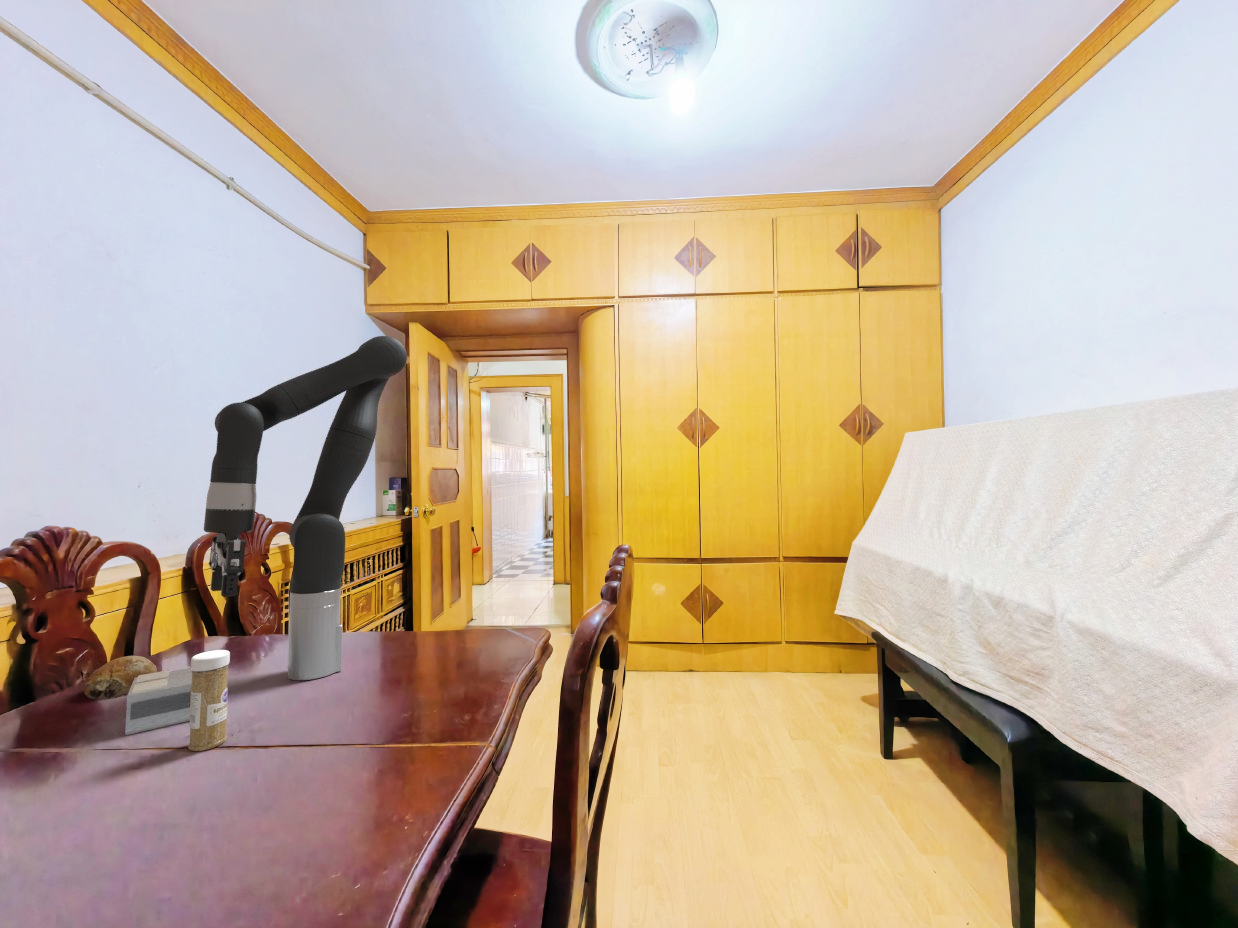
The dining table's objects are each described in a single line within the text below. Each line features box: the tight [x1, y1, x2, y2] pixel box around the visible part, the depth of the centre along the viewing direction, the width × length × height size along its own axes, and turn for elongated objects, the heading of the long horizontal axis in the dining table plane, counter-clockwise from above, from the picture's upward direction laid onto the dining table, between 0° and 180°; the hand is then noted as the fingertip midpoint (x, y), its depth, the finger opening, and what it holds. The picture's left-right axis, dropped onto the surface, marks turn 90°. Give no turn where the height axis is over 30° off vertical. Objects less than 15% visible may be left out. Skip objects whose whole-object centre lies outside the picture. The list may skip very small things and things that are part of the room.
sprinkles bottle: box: [188, 649, 231, 752], centre depth 75 cm, size 5×5×14 cm
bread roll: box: [83, 655, 158, 700], centre depth 96 cm, size 10×10×8 cm
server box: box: [125, 667, 192, 736], centre depth 85 cm, size 12×10×6 cm
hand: (223, 593), depth 94 cm, fingers open, 8 cm apart
